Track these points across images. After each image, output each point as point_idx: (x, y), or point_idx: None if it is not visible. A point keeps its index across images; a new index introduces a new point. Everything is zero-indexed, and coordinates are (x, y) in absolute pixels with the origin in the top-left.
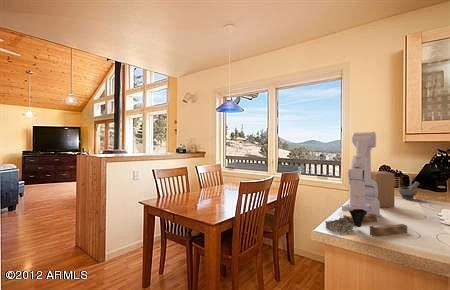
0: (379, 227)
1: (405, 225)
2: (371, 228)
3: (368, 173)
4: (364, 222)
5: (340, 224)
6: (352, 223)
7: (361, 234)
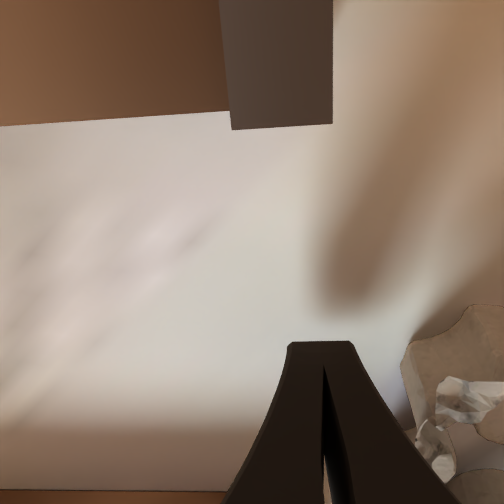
0: (7, 58)
1: None
2: (321, 36)
3: None
4: (16, 492)
5: (486, 497)
6: (220, 498)
7: (460, 131)
